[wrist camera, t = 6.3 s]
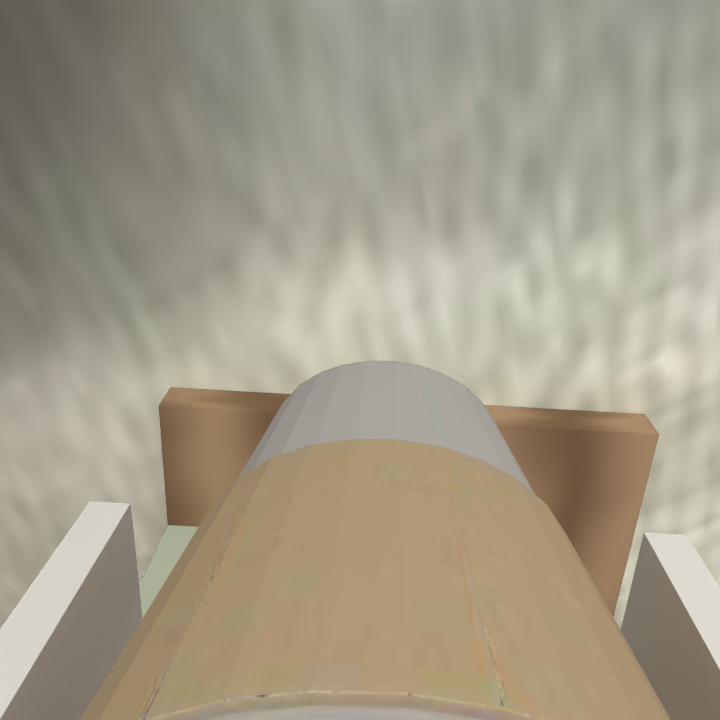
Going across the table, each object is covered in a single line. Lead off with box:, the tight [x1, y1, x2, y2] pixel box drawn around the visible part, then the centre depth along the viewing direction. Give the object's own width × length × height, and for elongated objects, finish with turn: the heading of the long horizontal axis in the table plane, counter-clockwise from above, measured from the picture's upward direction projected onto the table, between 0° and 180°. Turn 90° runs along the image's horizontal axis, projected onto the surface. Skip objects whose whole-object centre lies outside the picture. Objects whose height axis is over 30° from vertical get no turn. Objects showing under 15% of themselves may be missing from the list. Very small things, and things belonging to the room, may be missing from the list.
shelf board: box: [159, 388, 659, 616], centre depth 36 cm, size 24×16×4 cm
